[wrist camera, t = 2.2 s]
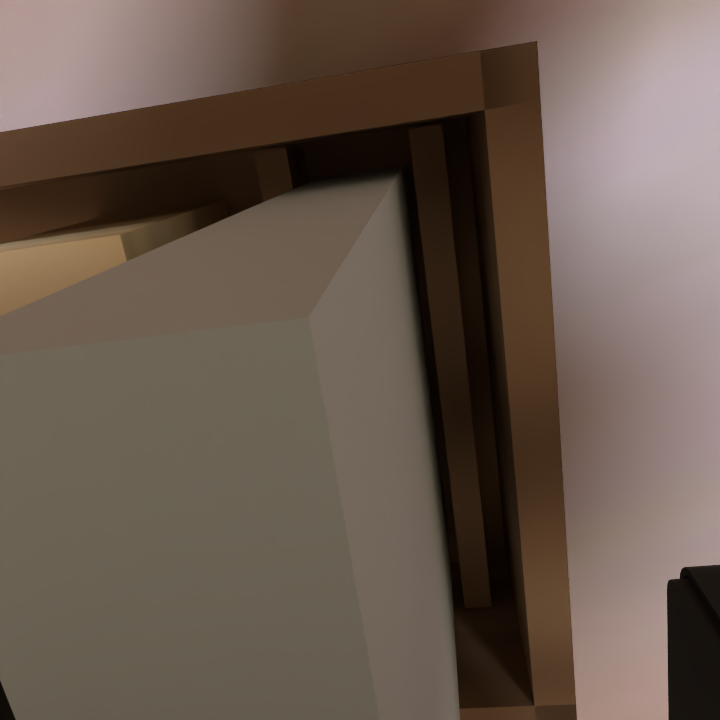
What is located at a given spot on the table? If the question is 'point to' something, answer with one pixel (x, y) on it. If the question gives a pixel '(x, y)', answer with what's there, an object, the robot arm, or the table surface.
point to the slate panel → (230, 477)
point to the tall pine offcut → (92, 249)
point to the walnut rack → (436, 290)
